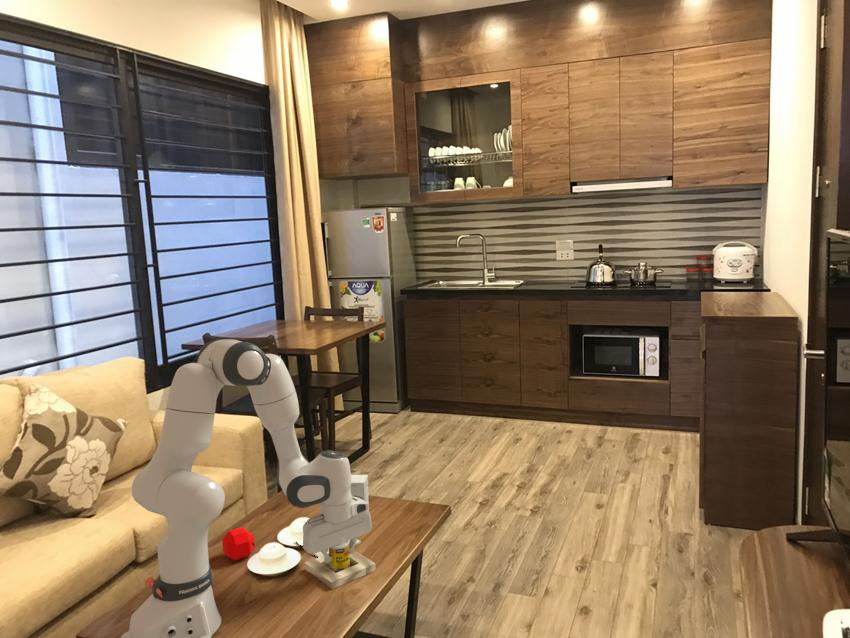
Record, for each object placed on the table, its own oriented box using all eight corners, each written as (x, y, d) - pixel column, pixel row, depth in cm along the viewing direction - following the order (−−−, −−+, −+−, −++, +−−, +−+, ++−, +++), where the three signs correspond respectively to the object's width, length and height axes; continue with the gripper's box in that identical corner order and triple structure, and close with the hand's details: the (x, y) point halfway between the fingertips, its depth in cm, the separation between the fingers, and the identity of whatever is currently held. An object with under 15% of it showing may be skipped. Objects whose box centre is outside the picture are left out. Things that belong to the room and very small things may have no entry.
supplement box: (343, 520, 219) (341, 482, 217) (347, 510, 226) (345, 473, 224) (366, 520, 218) (364, 482, 216) (369, 510, 225) (367, 473, 223)
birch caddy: (332, 589, 178) (331, 582, 178) (304, 569, 189) (304, 562, 188) (375, 570, 187) (375, 563, 186) (347, 552, 197) (347, 545, 197)
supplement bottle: (335, 577, 184) (333, 541, 182) (326, 569, 188) (324, 534, 187) (354, 570, 187) (352, 535, 185) (344, 562, 191) (342, 528, 190)
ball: (257, 557, 196) (255, 532, 195) (230, 566, 192) (228, 540, 191) (248, 546, 203) (246, 522, 202) (221, 555, 199) (219, 530, 198)
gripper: (308, 525, 176) (312, 575, 178) (373, 502, 189) (376, 549, 191) (296, 517, 181) (300, 566, 183) (360, 495, 194) (363, 541, 196)
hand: (339, 557), depth 187 cm, fingers closed on supplement bottle, 6 cm apart
